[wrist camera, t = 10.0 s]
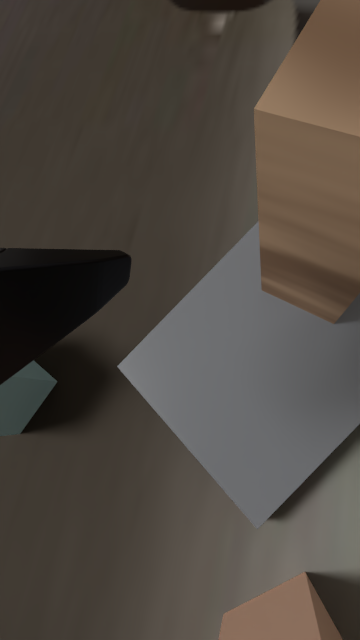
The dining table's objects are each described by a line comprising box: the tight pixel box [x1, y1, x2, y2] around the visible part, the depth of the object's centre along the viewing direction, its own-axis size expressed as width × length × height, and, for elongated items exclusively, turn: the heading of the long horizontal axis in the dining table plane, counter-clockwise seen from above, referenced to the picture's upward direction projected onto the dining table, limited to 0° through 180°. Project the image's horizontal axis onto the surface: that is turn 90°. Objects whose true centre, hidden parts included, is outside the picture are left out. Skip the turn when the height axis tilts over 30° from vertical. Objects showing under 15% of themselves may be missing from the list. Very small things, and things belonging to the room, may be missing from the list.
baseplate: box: [117, 221, 360, 529], centre depth 20 cm, size 16×12×2 cm
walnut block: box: [254, 0, 360, 324], centre depth 13 cm, size 4×4×13 cm
